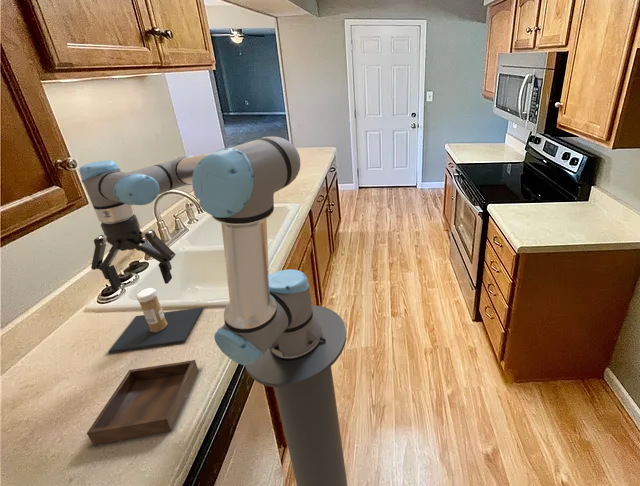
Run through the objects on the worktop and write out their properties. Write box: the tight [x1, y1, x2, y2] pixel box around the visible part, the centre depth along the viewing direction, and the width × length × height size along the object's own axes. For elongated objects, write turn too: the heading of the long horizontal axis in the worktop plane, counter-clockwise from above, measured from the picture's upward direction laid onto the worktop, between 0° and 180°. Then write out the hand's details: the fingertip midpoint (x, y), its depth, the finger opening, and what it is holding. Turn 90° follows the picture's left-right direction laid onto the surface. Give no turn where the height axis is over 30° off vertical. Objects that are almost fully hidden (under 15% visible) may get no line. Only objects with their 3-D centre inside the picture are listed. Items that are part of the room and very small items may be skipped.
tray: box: [86, 359, 199, 446], centre depth 79 cm, size 16×16×4 cm
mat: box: [108, 307, 204, 354], centre depth 102 cm, size 20×14×1 cm
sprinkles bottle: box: [136, 287, 167, 332], centre depth 99 cm, size 5×5×13 cm
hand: (143, 284), depth 95 cm, fingers open, 13 cm apart
